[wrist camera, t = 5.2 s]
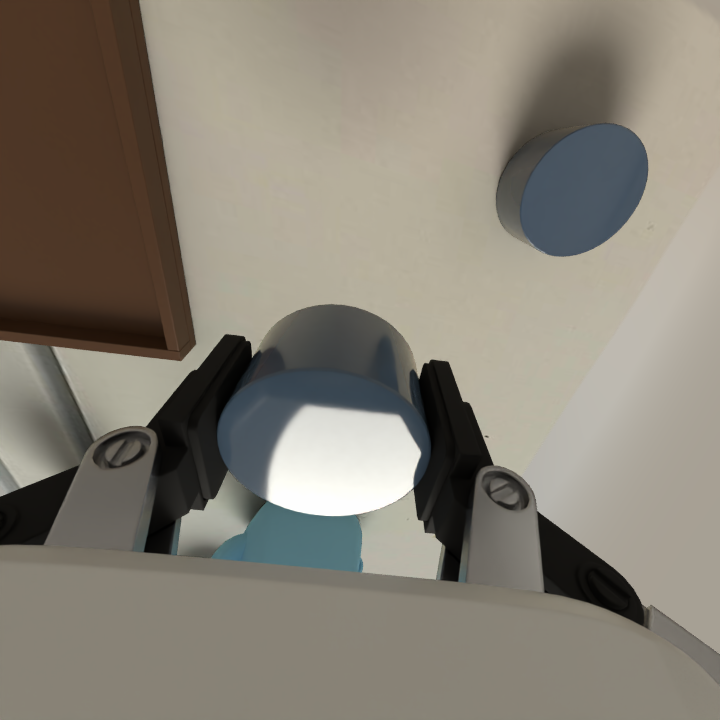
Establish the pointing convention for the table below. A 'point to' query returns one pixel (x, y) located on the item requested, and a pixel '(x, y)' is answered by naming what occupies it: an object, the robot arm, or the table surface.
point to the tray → (85, 185)
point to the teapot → (297, 540)
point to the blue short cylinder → (328, 415)
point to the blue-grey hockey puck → (572, 187)
